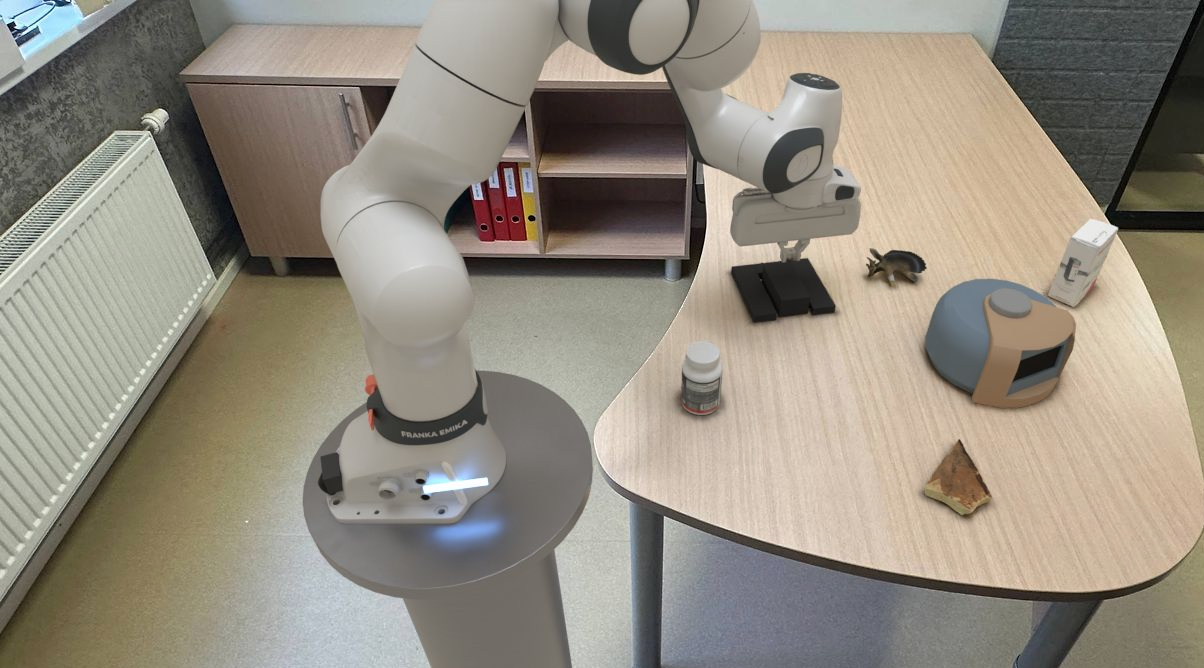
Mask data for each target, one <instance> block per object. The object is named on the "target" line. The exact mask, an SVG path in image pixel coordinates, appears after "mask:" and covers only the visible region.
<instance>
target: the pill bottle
mask: <svg viewBox="0 0 1204 668" xmlns="http://www.w3.org/2000/svg"><path fill="white" fill-rule="evenodd" d="M720 359H721V351H720V348H719V347H718V346H717V345H716V344H715V343H713V342H710V341H707V340H698V341H694V342H692V343H690V344H689V345H688V346H687V348H686V350H685V359H684V360H683V362H682V366H681V383H680V385H681V386H680V387H681V388H680V401H681V406H682V407H683V408H684V409H685V410H686V411H687V412H689V413H691V414H693V415H698V416H706V415H710V414H712V413H714V412H715V411H716V410H717V409H718V408H719V406H720V405H721V404H720V403H721V397H722V396H721V395H722V381H723V369H724V367H723V363H722V361H721V360H720Z"/></svg>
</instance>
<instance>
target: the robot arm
mask: <svg viewBox="0 0 1204 668" xmlns="http://www.w3.org/2000/svg"><path fill="white" fill-rule="evenodd" d="M761 37H762V33H761V22H760V17H759V14H758V11H757V8H756V5H755V3H754V1H753V0H434V3H433V5H432V6H431V9H430V10H429V12H428V14H427V16H426V19H425V20H424V22H423V24H422V25H421V28H420V31H419V33H418V36H417V37H416V40H415V43H414V44H413V47H412V50H411V52H410V54H409V56H408V59H407V61H406V64H405V66H404V68H403V70H402V73H401V75H400V78H399V80H398V82H397V85H396V87H395V89H394V91H393V94H392V96H391V98H390V100H389V103H388V105H387V107H386V110H385V112H384V114H383V116H382V118H381V120H380V122H379V123H378V125H377V127H376V128H375V130H374V131H373V133H372V134H371V136H370V137H369V139H368V140H367V141H366V143H365V144H364V146H363V147H362V148H361V150H360V151H359V152H358V154H356V156H355V158H354V159H353V160H352V161H351V163H350V164H348V165H344V167H341V168H340V169H338V170H337V171H335V172H334V173H333V174H332V175H331V176H330V177H329V178H328V179H327V181H326V182H325V185H324V186H323V188H322V191H321V195H320V201H319V202H320V207H319V208H320V225H321V231H322V235H323V237H324V240H325V242H326V244H327V245H328V248H329V250H330V252H331V254H332V257H333V258H334V261H335V263H336V266H337V269H338V271H339V273H340V276H341V278H342V280H343V282H344V285H345V287H346V290H347V291H348V294H349V296H350V299H351V301H352V304H353V306H354V310H355V312H356V314H357V315H356V316H357V319H358V322H359V324H360V329H361V331H362V336H363V341H364V350H365V353H366V356H367V358H368V361H369V365H370V368H371V371H372V373H373V374H369V375H367V376H366V378H365V387H364V392H365V393H366V394H367V395H369V396H368V397H367V399H366V402H367V411H366V412H365V413H363V414H362V415H360V416H359V417H357V418H356V419H354V420H353V421H352V422H351V423H350V424H349V425H348V427H347V428H346V430H345V432H344V435H343V437H342V440H341V444H340V447H339V448H338V449H337V451H336V452H335V453H331V454H328V455H324V456H321V457H320V458H321V467H322V473H321V475H320V478H319V480H318V485H319V487H320V489H321V490H322V491H324V492H325V493H326V497H327V503H328V506H329V510H330V512H331V514H332V516H333V517H334V519H335V520H336V521H337V522H338V523H341V524H451V523H455V522H457V521H459V520H460V519H461V518H462V517H463V516H464V514H465V513H466V512H467V510H468V509H469V507H470V506H471V505H472V504H473V503H474V502H476V501H477V500H478V499H480V498H481V497H483V496H484V495H486V494H487V493H488V492H489V491H491V490H492V489H493V488H494V486H495V485H496V484H497V483H498V482H499V480H500V479H501V477H502V475H503V473H504V470H505V467H506V452H505V448H504V446H503V444H502V443H501V441H500V440H499V439H498V437H497V436H496V434H495V433H494V431H493V429H492V427H491V424H490V422H489V419H488V417H487V413H488V407H487V401H486V396H485V391H484V387H483V385H482V383H481V379H480V376H479V374H478V372H477V371H478V370H477V369H476V368H475V367H476V366H475V364H474V363H475V362H474V358H473V352H472V349H471V344H470V339H469V334H468V322H469V320H470V318H471V316H472V313H473V309H474V305H475V297H474V291H473V286H472V283H471V280H470V276H469V272H468V268H467V266H466V262H465V260H464V257H463V256H462V253H460V251H459V250H458V248H457V247H456V245H455V243H454V242H453V240H452V239H451V238H450V236H449V235H448V233H447V232H446V231H445V221H446V217H447V214H448V212H449V210H450V208H451V207H452V206H453V205H454V203H455V202H456V201H457V199H458V198H459V197H460V196H461V195H462V194H463V193H464V191H466V190H467V189H468V188H470V186H472V185H477V184H480V183H483V182H485V181H487V180H488V179H490V178H491V177H492V176H493V174H494V173H495V171H496V170H497V169H498V166H499V164H500V161H501V159H502V158H503V155H504V153H505V151H506V149H507V147H508V145H509V143H510V141H511V139H512V137H513V135H514V133H515V131H516V129H517V127H518V124H519V123H520V121H521V118H522V116H523V114H524V112H525V110H526V108H527V107H528V104H529V101H530V100H531V97H532V96H533V94H534V91H535V89H536V86H537V84H538V81H539V79H540V76H541V74H542V71H543V69H544V66H545V63H546V61H548V59H549V58H550V57H551V56H552V54H553V53H554V52H555V51H556V50H558V49H559V48H560V47H561V46H562V45H563V44H565V43H567V42H568V41H569V42H571V43H572V44H574V45H575V46H577V47H579V48H581V49H582V50H583V51H586V52H587V53H589V54H591V55H593V56H595V57H597V58H598V59H599V60H600V61H601V62H602V63H603V64H605V65H606V66H608V67H610V68H612V69H614V70H617V71H620V72H623V73H626V74H631V75H637V76H638V75H639V76H643V75H644V76H645V75H648V74H652V73H654V72H657V71H658V70H660V69H662V71H663V74H664V76H665V79H666V82H667V84H668V86H669V89H670V91H671V93H672V96H673V97H674V100H675V103H676V104H677V105H676V106H677V107H678V109H679V111H680V114H681V116H682V119H683V122H684V126H685V127H684V128H685V133H686V140H687V141H686V142H687V145H688V149H689V152H690V154H691V156H692V158H693V159H694V160H695V161H696V162H697V163H699V164H702V165H704V166H707V167H710V168H713V169H715V170H719V171H721V172H723V173H725V174H728V175H730V176H731V177H734V178H736V179H738V180H740V181H743V182H745V183H747V184H749V185H752V186H753V187H745V188H743V189H742V190H741V191H739V192H737V193H736V194H735V195H734V196H733V198H732V207H731V209H732V210H731V211H732V216H731V221H730V228H729V231H730V232H729V233H730V236H731V238H732V241H733V242H734V243H735V244H736V245H737V246H738V247H749V246H757V245H766V244H767V245H768V244H777V246H778V247H779V249H780V251H779V259H780V261H782V263H784V262H792V261H800V259H802V258H801V257H802V253H803V252H804V251H805V250H806V249H807V248H808V247H809V245H810V243H811V240H813V239H821V238H831V237H839V236H850V235H853V234H854V233H855V232H856V231H857V230H858V228H859V225H860V220H861V209H862V205H861V201H860V200H861V199H859V197H860V196H861V192H862V186H861V185H860V183H859V182H858V180H857V179H856V177H855V176H854V174H853V173H851V171H850V170H849V169H848V168H847V167H845V166H843V165H838V164H835V163H834V156H833V155H834V151H835V148H836V147H837V145H838V143H839V137H840V132H841V125H842V115H843V114H842V113H843V92H842V87H841V85H840V84H839V83H837V82H836V81H835V80H833V79H831V78H829V77H826V76H823V75H820V74H817V73H811V72H797V73H795V74H791V75H790V76H788V78H787V81H786V83H785V86H784V91H783V94H782V99H781V101H780V103H779V104H778V105H777V106H776V107H775V108H774V109H773V110H772V111H770V112H767V111H765V110H763V109H760V108H758V107H755V106H753V105H751V104H748V103H745V102H743V101H741V100H739V99H738V98H735V97H734V96H731V95H729V94H728V93H725V92H724V91H723V90H722V89H723V88H726V87H727V86H729V85H731V84H732V83H734V82H735V81H737V80H738V79H739V78H740V77H742V76H743V75H744V74H745V73H746V71H747V70H748V69H749V68H750V66H751V65H752V64H753V62H754V60H755V58H756V56H757V53H758V52H759V48H760V44H761V39H762V38H761ZM795 241H797V242H796V243H795V244H794V246H791V247H787V246H788V244H789V242H795ZM337 503H339V504H338V505H336V504H337ZM442 512H444V514H440V513H442Z"/></svg>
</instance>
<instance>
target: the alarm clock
mask: <svg viewBox="0 0 1204 668" xmlns="http://www.w3.org/2000/svg"><path fill="white" fill-rule="evenodd" d="M1076 329H1077V325H1076V319H1075V317H1074V316H1073V314H1071V312H1069V310H1067V309H1063V308H1061V307H1058V306H1056V305H1055V304H1054V303H1053V302H1052V301H1051V300H1050V299H1049V298H1048V297H1046V296H1045V295H1043V294H1041V293H1039V292H1038V291H1036V290H1035V289H1033V288H1030V287H1028V286H1026V285H1023V284H1021V283H1017V282H1013V281H1010V280H1004V279H997V278H976V279H971V280H965V281H962V282H960V283H958V284H956V285H954V286H952V287H950V288H949V289H948V290H947V291H946V292H945V293H944V294H942V295H941V297H940V298H939V299H938V301H937V303H936V305H935V306H934V309H933V312H932V314H931V317H930V321H929V324H928V327H927V330H926V333H925V336H924V343H925V344H924V345H925V349H926V351H927V354H928V356H929V359H930V362H931V363H932V365H933V367H934V369H935V370H936V371H937V372H938V373H939V374H940V375H941V377H943V378H944V379H945V380H947V381H948V382H949V383H951V384H952V385H954V386H956V387H957V388H960V389H961V390H964V391H965V392H967V393H971V394H972V396H971V402H972V403H974V404H979V405H983V406H989V407H994V408H1000V409H1017V408H1019V409H1021V408H1024V407H1027V406H1030V405H1034V404H1036V403H1038V402H1041V401H1042V400H1044V399H1046V398H1048V397H1049V395H1050V394H1051V393H1052V392H1053V390H1054V389H1055V387H1056V385H1057V383H1058V381H1059V380H1060V377H1061V375H1062V373H1063V371H1064V369H1065V367H1066V364H1067V362H1068V360H1069V359H1070V356H1071V354H1072V352H1073V350H1074V346H1075V341H1076V332H1077V331H1076Z"/></svg>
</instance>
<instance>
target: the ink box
mask: <svg viewBox="0 0 1204 668" xmlns="http://www.w3.org/2000/svg"><path fill="white" fill-rule="evenodd" d="M1118 231H1119V227H1118V226H1115V225H1113V224H1110V223H1108V222H1105V221H1101V220H1097V219H1095V218H1089V219H1088V220H1087V221H1086V222H1085V223H1084V224H1083V225H1082V226H1081V227H1080V228H1079V229H1078V230H1077V231H1076V232H1074V234H1073V235H1071V237H1070V238H1069V241H1068V243H1067V246H1066V248H1065V251H1064V253H1063V256H1062V258H1061V261H1060V263H1059V266H1058V268H1057V271H1056V274H1055V275H1054V278H1053V281H1052V283H1051V286H1050V288H1049V291H1048V293H1047V296H1048V297H1050V298H1052V299H1054V300H1057V301H1058V302H1061V303H1063V304H1066V305H1067V306H1070V307H1072V308H1075V307H1076V306H1077V305H1078V304H1079V303H1080V302H1081V301H1082V300H1083V299H1084V297H1085V296H1087V294H1088V293H1089V292H1090V291H1091V290H1092V289H1093V288H1094V286H1095V284H1096V282H1097V280H1098V277H1099V275H1100V273H1101V270H1102V268H1103V266H1104V263H1105V261H1106V259H1107V257H1108V254H1109V252H1110V249H1111V248H1112V245H1113V243H1114V240H1115V238H1116V236H1117V234H1118Z"/></svg>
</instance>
